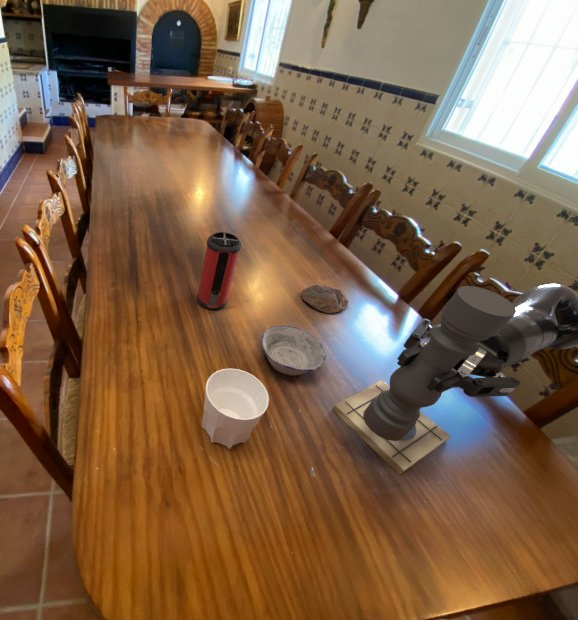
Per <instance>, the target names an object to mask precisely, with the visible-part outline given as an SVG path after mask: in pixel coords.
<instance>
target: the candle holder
mask: <svg viewBox="0 0 578 620" xmlns="http://www.w3.org/2000/svg"><path fill="white" fill-rule="evenodd" d="M441 312H442V313H441V315H440V319H441V320H440V324H435V325H433V326H431V327H432V328H431V329H430V331H429V335H430V337H429V338H430V340H428V341H429V342H428V343H427V345H426V346H425V347H424V349H423V350H422V351H421V353H419V354H418V355H417V356H416V357H415V358H414V359H413V360H412V361H411V362H410V363H409V364H408V365H407V366H404V367H401V366H398V368H396V369H395V370H394V371H393V373H392V374H391V375H390V376H389V387H390V389H389V390H385V391H382V392H381V393H380V394H379V395H378V396H376V397H375V398H374V399H373V400H372V401H371V403H370V404H369V406H368V407H367V408H366V410H365V411H364V414H363V418H364V421H365V423H366V425H367V426H368V427H369V429H370V430H371V431H372V432H374V433H375V434H376V435H378V436H379V437H382V438H384V439H386V440H391V441H398V440H401V439H403V438H404V436H405V435H406V434H407V433H408V432H409V431H410V430H411V429H412V428H413V427H414V425H415V424H416V421H417V419H418V418H419V417H420V412H421V409H423V408H428V407H432V406H434V405H435V404H436V403H437V402H438V401H439V400H440V399H441V397H442V395H443V392H437V391H436V390H435V391H433V392H431V391H430V390H429V389H428V388H427V386H428V385H429V384H430V383H431V381H432V380H433V379H434V378H436V377H438V376H440V375H442V374H445V373H447V372H450V371H452V370H454V369H453V368H454V367H455V365H456V364H457V363H458V362H459V361H460V360H461V359H462V358H463V357H464V356H471V355H474V354H475V353H476V352H477V351H478V350H479V346H478V343H479V342H480V341H483V340H487V339H489V337H492V336H495V335H496V334H497V333H498V332H499V331H500V330H501V329H502V328H503V327H504V326H505V325H506V324H507V322H508V321H509V320H510V319H511V318H512V317H513V316H514V315H515V313H516V312H517V311H516V308H515V306H514V305H513V304H512V301H510V300H509V299H508V298H505V297H504V296H503V295H500V294H499V293H496V292H494V291H492V290H489V289H487V288H483V287H480V286H472V285H464V286H460V287H458V289H456V291H455V292H454V294H453V295H452V296H451V297H450V299H449V301H448V302H447V303H446V304H445V305H444V307H443V309H442V310H441Z"/></svg>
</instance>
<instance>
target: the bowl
mask: <svg viewBox="0 0 578 620" xmlns="http://www.w3.org/2000/svg"><path fill="white" fill-rule="evenodd" d="M261 346H262V350H263V351H264V354H265V355H266V356H265V357H266V358H267V360H268V363H269V364H270V365H271V367H272V368H273V369H274V370H276V371H277V372H279V373H280V374H283V375H287V376H292V377H293V376H301V375H304V374H306V373H307V374H308V372H315V371H316V370H319V369H321V367H322V366H323V365H324V363H325V361H326V357H327V354H326V353H325V352H326V351H325V349H324V347H323V345H322V344H321V342H320V341H319V340H318V339H317V338H316V337H315V336H313V335H312V334H311V333H309V332H308V331H305V330H304V329H300V328H298V327H297V326H289V325H275V326H271V327H270V328H268V329H266V330H265V331H264V332H263V333H262V336H261Z"/></svg>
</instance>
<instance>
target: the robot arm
mask: <svg viewBox="0 0 578 620" xmlns="http://www.w3.org/2000/svg"><path fill="white" fill-rule="evenodd" d="M511 303H512V304H513V305H514V306H515V308H516V311H517V312H516V313H515V315H514V316H513V317H512V318H511V319H510V320H509V321H508V322H507V324H506V325H505V326H504V327H503V328H502V329H501V330H500V331H499V332H498V333H497V334H496V335H495V336H492V337H489V339H487V340H483V341H480V342H479V343H478V346H479V350H478V351H477V352H476V353H475V354H474V355H471V356H464V357H463V358H462V359H461V360H460V361H459V362H458V363H457V364H456V365H455V367H454V368H453V369H452V370H451V371H450V372H447V373H445V374H442V375H440V376H438V377H436V378H434V379H433V380H432V381H431V383H430V384H429V385H428V386H427V388H428V389H429V390H430V391H431V392H433V391H435V390H436V391H437V392H442V393H444V392H447V391H448V390H452V389H458V388H459V389H461V390H462V391H463V392H462V393H463V394H464V395H466V396H467V397H470V398H479V397H480V398H485V397H508V396H509V395H510V394H511V393H512V392H513V391H514V390H516V388H517V387H519V386H520V385H521V381H520V380H519V379H517V378H516V377H513V376H506V375H505V374H504V373H503V372H502V371H503V369H506V368H508V367H510V366H512V365H516V364H519V363H521V362H522V361H524V360H525V359H527V358H528V357H530V356H531V355H533V354H534V353H535V352H538V351H540V350H542V349H545V348H546V349H548V350H558V351H559V350H566V349H571V348H572V349H573V348H575V347H578V294H577V292H576V291H574V289H572V288H571V287H568V286H566V285H563V284H559V283H558V284H557V283H549V284H543V285H538V286H535V287H532V288H530V289H528V290H526V291H524V292H523V293H521V294H520V295H518V296H517V297H516V298H514V300H513V301H511ZM431 324H432V321H431V320H430V319H428V318H422V319H421V320H420V322H419V323H418V325H416V327H415V329H414V330H413V331H412V332H411V333H410V335H409V336H408V338H407V339H406V341H405V342H404V343H403V347H404V348H405V349H403V350H402V351H401V353H400V354H399V355H398V357H397V360H398V361H397V362H396V363H397V365H398V367H404V366H407V365H408V364H409V363H410V362H411V361H412V360H413V359H414V358H415V357H416V356H417V355H418V354H419V353H421V351H422V350H423V349H424V347H425V346H426V345H427V343H428V342H429V341H430V340H425V338H427V339H428V338H430V335H429V331H430V329H431V328H432V327H433V326H431ZM422 340H425V341H422ZM470 375H472V376H476V377H475V378H474V377H471V376H470Z"/></svg>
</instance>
